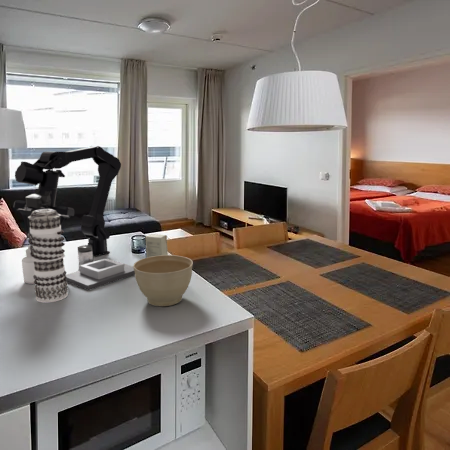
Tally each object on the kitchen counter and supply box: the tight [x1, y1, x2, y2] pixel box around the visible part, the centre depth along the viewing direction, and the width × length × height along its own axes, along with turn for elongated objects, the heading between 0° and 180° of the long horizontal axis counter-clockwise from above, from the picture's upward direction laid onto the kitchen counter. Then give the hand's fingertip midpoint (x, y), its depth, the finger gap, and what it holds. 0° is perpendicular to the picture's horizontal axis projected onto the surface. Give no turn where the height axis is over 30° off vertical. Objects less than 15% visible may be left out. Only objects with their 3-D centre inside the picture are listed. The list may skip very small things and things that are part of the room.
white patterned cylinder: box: [27, 208, 69, 304], centre depth 105 cm, size 9×9×25 cm
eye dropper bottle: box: [21, 244, 35, 285], centre depth 117 cm, size 4×6×12 cm
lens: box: [77, 244, 94, 268], centre depth 134 cm, size 5×5×7 cm
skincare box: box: [145, 233, 169, 258], centre depth 130 cm, size 6×4×12 cm
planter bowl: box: [132, 254, 194, 307], centre depth 105 cm, size 16×16×11 cm
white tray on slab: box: [65, 258, 135, 291], centre depth 124 cm, size 20×14×4 cm
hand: (40, 233), depth 128 cm, fingers open, 9 cm apart
